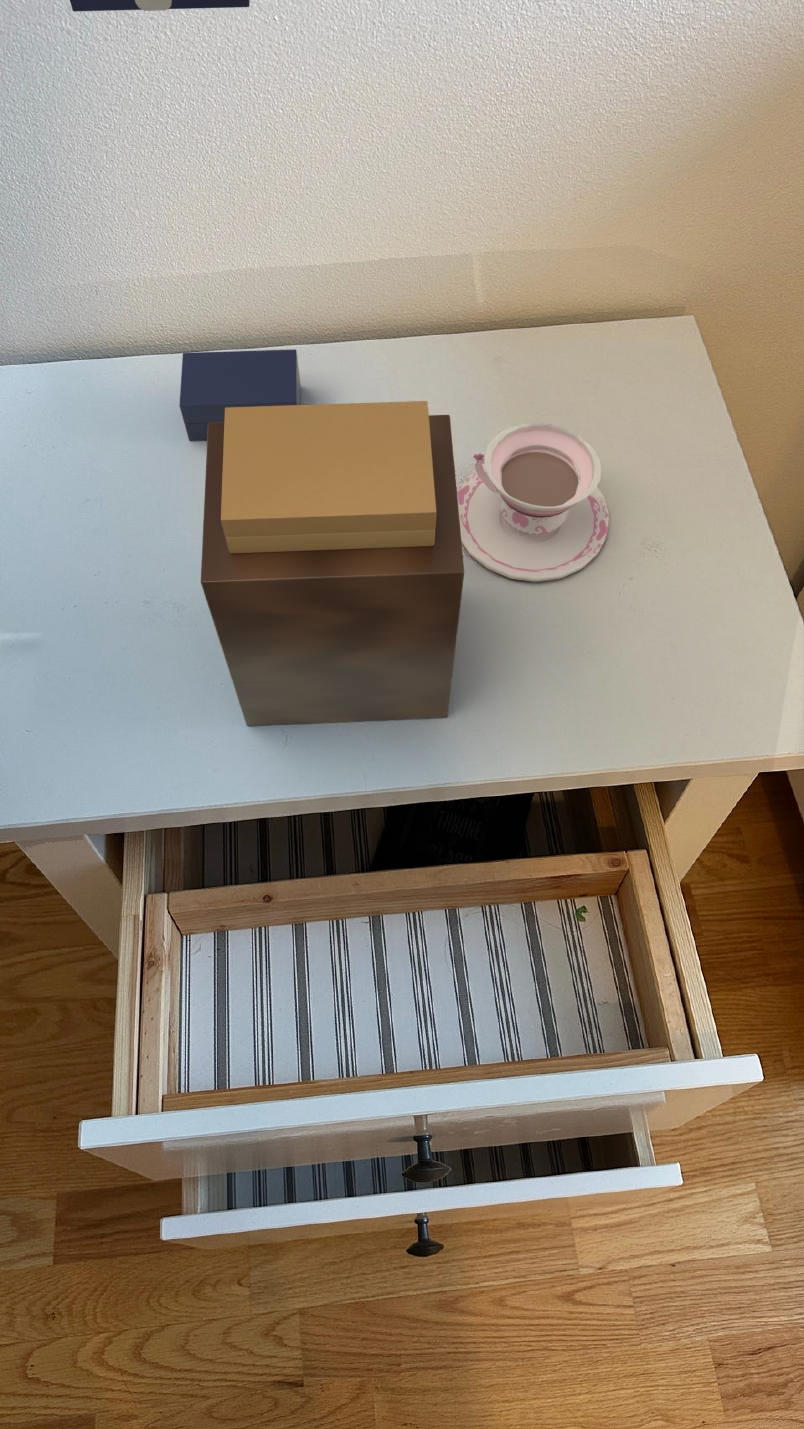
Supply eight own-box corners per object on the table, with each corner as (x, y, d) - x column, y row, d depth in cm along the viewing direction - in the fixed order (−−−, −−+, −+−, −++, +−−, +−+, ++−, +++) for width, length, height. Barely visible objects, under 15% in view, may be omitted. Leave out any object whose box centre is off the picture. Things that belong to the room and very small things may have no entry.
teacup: (622, 479, 77) (640, 424, 72) (588, 601, 72) (604, 553, 67) (476, 442, 79) (482, 386, 73) (433, 560, 74) (436, 509, 68)
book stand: (246, 726, 68) (200, 582, 52) (249, 592, 73) (207, 422, 56) (447, 718, 68) (464, 572, 52) (437, 585, 73) (449, 414, 57)
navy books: (189, 441, 79) (179, 405, 75) (192, 389, 81) (182, 352, 78) (301, 437, 79) (296, 401, 75) (300, 386, 81) (296, 349, 78)
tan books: (229, 554, 52) (220, 519, 50) (232, 445, 56) (224, 407, 53) (434, 546, 53) (436, 512, 50) (425, 438, 56) (427, 400, 53)
